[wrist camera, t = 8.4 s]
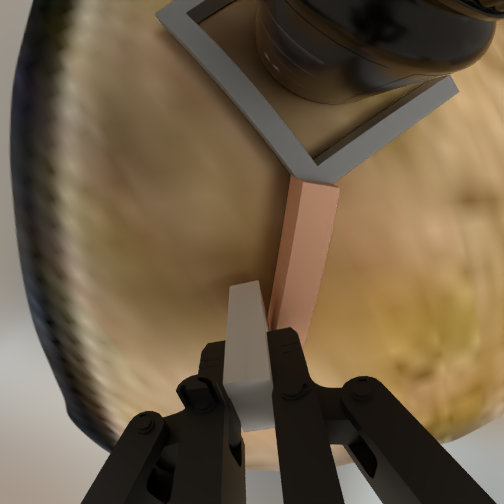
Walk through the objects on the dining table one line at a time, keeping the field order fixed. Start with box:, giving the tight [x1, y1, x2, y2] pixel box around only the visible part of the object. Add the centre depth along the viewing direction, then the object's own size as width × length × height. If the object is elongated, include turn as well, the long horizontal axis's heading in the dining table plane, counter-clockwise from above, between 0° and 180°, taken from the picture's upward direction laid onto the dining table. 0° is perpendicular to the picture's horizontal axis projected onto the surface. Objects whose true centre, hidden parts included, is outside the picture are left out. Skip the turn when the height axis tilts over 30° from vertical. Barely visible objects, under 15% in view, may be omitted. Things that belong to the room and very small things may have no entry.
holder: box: [155, 0, 459, 350], centre depth 12 cm, size 19×18×3 cm
